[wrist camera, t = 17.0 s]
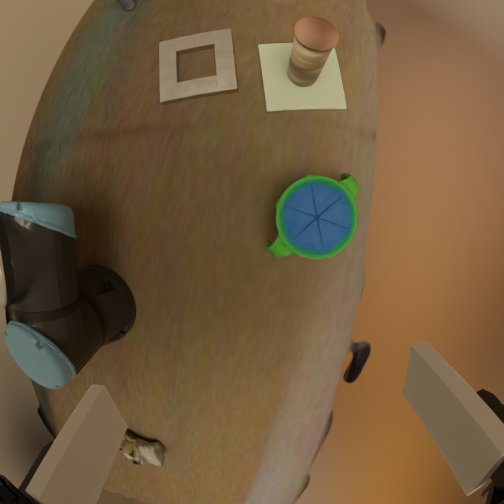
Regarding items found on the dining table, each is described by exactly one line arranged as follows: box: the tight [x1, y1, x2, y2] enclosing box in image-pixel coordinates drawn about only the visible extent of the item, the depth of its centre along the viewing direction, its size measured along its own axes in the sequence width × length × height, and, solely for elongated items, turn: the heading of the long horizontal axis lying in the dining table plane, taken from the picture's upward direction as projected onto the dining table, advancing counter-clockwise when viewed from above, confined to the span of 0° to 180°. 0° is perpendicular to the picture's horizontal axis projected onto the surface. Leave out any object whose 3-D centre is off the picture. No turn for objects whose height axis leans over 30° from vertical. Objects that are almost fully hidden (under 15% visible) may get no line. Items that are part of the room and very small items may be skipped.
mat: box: [258, 43, 347, 112], centre depth 39 cm, size 13×13×1 cm
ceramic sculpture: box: [120, 431, 165, 467], centre depth 54 cm, size 11×9×15 cm
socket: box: [159, 29, 238, 105], centre depth 38 cm, size 13×13×2 cm
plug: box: [287, 16, 339, 87], centre depth 31 cm, size 5×5×14 cm
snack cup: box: [265, 173, 359, 260], centre depth 39 cm, size 16×10×10 cm
